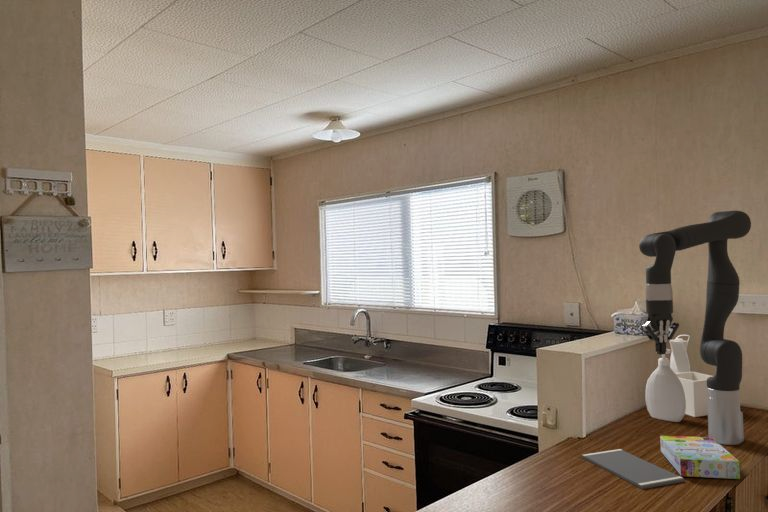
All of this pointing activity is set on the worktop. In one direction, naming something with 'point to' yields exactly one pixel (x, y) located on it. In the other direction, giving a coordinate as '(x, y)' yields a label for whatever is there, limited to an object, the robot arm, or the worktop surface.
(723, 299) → the robot arm
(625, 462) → the gray tablet computer
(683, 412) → the soap bottle
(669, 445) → the snack box
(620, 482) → the worktop surface
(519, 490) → the worktop surface
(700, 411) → the utensil crock
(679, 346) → the white twisted bottle
